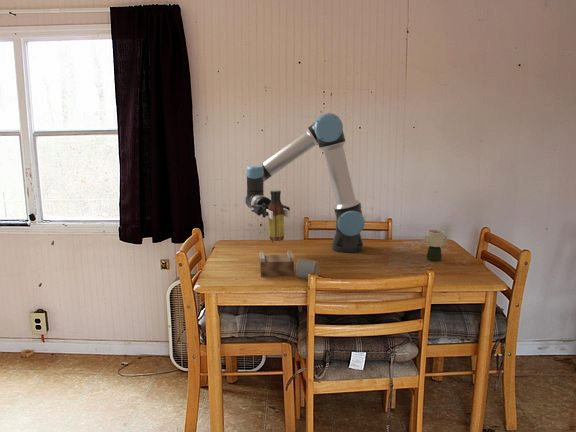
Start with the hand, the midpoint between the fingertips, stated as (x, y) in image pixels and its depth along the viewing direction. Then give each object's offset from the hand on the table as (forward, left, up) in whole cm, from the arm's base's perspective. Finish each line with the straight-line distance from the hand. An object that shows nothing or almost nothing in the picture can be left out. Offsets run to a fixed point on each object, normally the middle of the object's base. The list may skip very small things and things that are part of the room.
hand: (280, 214), depth 188 cm
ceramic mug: (-11, +2, -25) cm, 27 cm away
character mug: (-70, -16, -25) cm, 76 cm away
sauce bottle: (+1, -5, -11) cm, 12 cm away
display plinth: (+1, -5, -25) cm, 25 cm away
